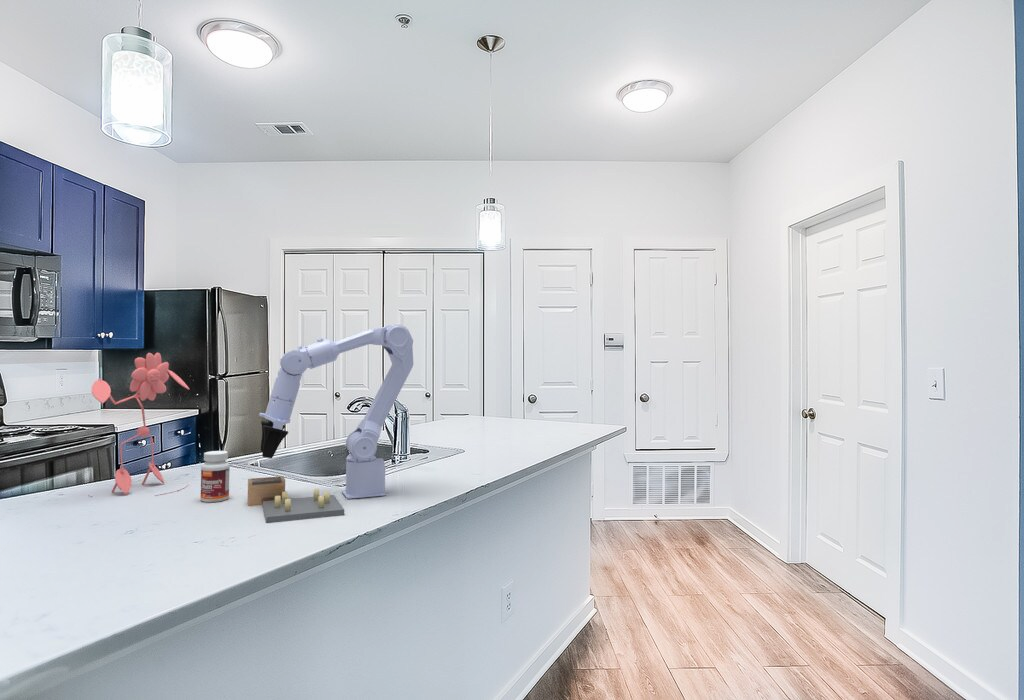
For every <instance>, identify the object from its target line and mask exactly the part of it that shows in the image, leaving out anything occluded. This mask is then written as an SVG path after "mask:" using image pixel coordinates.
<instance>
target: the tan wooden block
mask: <svg viewBox="0 0 1024 700" xmlns="http://www.w3.org/2000/svg"><path fill="white" fill-rule="evenodd" d="M284 491H286V478H285V476H284V475H282V476H269V477H267V476H266V477H255V478H247V499H246V500H247V506H248V507H253V506H254V507H255V506H263V501H272V500H275V496H281V500H282V492H284Z"/></svg>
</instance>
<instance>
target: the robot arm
mask: <svg viewBox="0 0 1024 700" xmlns="http://www.w3.org/2000/svg"><path fill="white" fill-rule="evenodd" d="M413 344H414V338H413V337H412V334H411V332H410V330H409V329H408V328H407V327H406V326H404V325H403V324H393V325H386V326H383V327H382V326H381V327H376V328H370V329H366V330H364V331H361V332H358V333H356V334H353V335H350V336H348V337H345V338H341V339H340V340H337V341H336V340H335V341H333V340H332V339H329V338H326V339H324V338H323V337H322V338H321V337H320V338H319V339H317V342H314V343H310V344H309V345H305V346H303V345H299V346H297V349H298V350H297V349H292V350H289V351H287V352H285V353H284V354H283V355H282V356H281V358H280V360H279V366H280V368H279V370H278V371H277V376H276V378H275V380H274V383H273V386H272V390H271V392H270V393H271V394H270V397H269V400H268V404H267V406H266V410H265V412H259V414H258V417H262V418H264V419H266V420H267V421H264V420H261V421H260V424H261V441H260V452H262V458H266V459H272V458H273V457H274V455H275V453H276V452H277V450H278V448H279V446H280V445H281V443H282V441H283V439H285V438H286V437H287V435H288V434H289V431H288V430H285V428H286V425H287V424H290V423H291V416H292V414H293V409H294V406H295V403H296V400H297V396H298V394H299V389H300V386H301V380H302V377H303V373H305V372H306V371H307V369H308V368H309V369H310V370H313V369H314V368H315V369H316V368H317V367H321V366H323V365H327V364H329V363H333V362H335V361H336V360H337V359H338V356H339V355H340V354H343V353H345V352H349V351H352V350H355V349H359V348H360V347H364V346H368V345H373V346H381V347H382V348H383V349H384V350H385V351H386V352H387V353H388V357H389V360H390V362H391V366H390V368H389V369H388V372H387V374H386V375H385V377H384V379H383V381H382V383H381V385H380V387H379V389H378V390H377V392H376V394H375V396H374V399H373V400H372V402H371V404H370V406H369V408H368V410H367V412H366V414H365V415H364V417H363V419H362V420H361V421H360V422H359V423H358V425H357V426H356V428H355V430H353V431H352V432H350V433H349V435H348V436H347V438H346V441H345V445H346V446H345V447H346V449H347V450H348V451H349V453H348V455H347V456H346V459H345V460H346V461H345V464H346V465H345V489H342V490H341V493H342V494H343V495H344V497H345V498H346V499H349V500H351V499H362V498H374V497H383V496H387V495H386V494H387V493H386V464H385V460H384V458H379V457H378V458H377V456H376V452H377V449H378V441H379V439H380V437H381V433H382V432H381V431H382V427H383V426H384V423H385V422H386V419H387V418H388V415H389V413H390V412H391V410H392V408H393V405H394V404H395V403H396V400H397V398H398V396H399V395H400V392H401V390H402V388H403V387H404V385H405V382H406V381H407V378H408V377H409V375H410V373H411V371H412V369H413V367H414V351H413V350H414V349H413ZM268 420H269V421H268Z"/></svg>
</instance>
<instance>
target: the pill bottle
mask: <svg viewBox="0 0 1024 700" xmlns="http://www.w3.org/2000/svg"><path fill="white" fill-rule="evenodd" d="M228 459H229V452H228V451H226V450H211V451H206V452H203V462H204V463H203V464H202V465H201V466H200V500H201V502H205V503H216V502H223V501H226V500H228V499H229V497H230V467H231V466H230V463H228V462H227V460H228Z"/></svg>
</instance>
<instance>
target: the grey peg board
mask: <svg viewBox="0 0 1024 700" xmlns="http://www.w3.org/2000/svg"><path fill="white" fill-rule="evenodd" d="M323 493H324V495H320V488H314V489H313V496H307V497H306V496H305V497H296V498H288V497H289V496H288V495H289V494H288V491H287V490H285V491H284V492H282V500H281V496H275V500H272V501H263V505H262V509H263V510H262V511H263V514H264V519H265V523H267V524H268V523H278V522H286V521H297V520H307V519H316V518H318V519H319V518H326V517H327V518H328V517H337V516H344V515H345V508H344V507H343V505H342V504H341V503H340V501H339V500H338V499H337V497H336V496H335V495H334V494H332V495H331V492H330V491H324V492H323Z"/></svg>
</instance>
